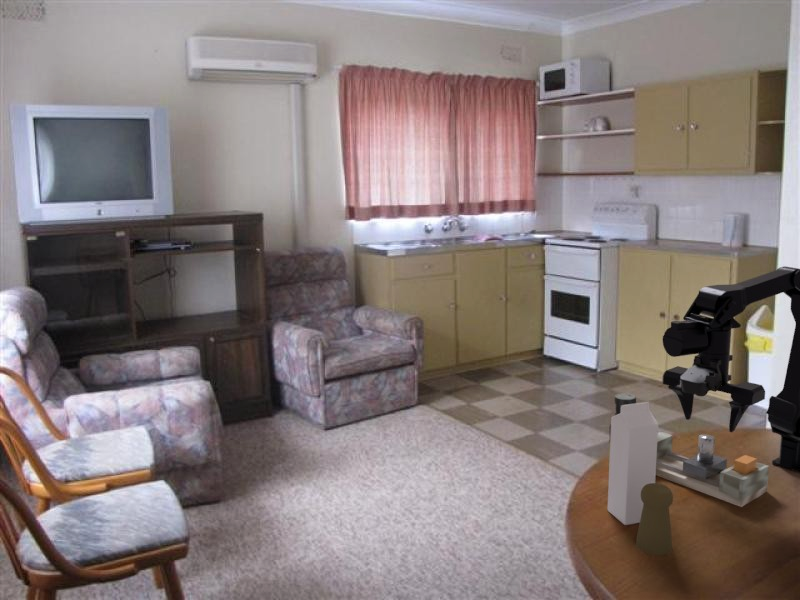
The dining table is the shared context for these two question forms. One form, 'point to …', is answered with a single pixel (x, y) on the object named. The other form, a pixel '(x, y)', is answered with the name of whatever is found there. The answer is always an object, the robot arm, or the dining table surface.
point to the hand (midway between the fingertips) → (709, 425)
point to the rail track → (718, 485)
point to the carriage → (705, 459)
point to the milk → (631, 460)
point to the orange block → (745, 464)
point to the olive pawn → (655, 520)
